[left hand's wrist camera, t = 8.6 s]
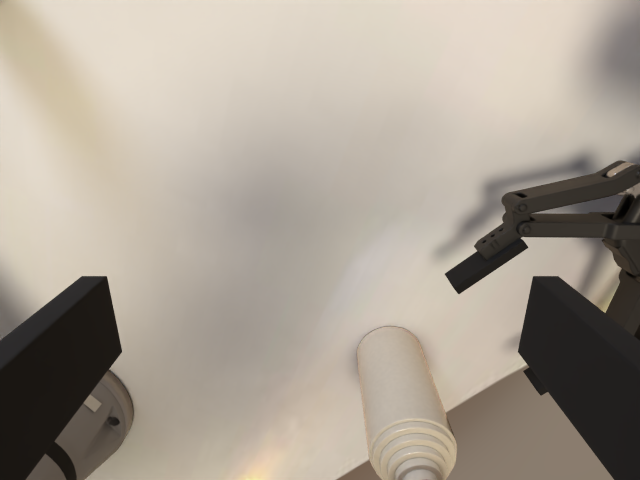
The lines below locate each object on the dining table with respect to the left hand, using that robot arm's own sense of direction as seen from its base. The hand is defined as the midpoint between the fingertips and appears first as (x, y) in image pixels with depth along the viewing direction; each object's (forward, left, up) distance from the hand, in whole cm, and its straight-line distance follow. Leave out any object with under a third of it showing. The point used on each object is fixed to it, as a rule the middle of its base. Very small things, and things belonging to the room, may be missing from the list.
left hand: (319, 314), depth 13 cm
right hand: (0, -21, -20) cm, 29 cm away
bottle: (-10, -20, -27) cm, 35 cm away
